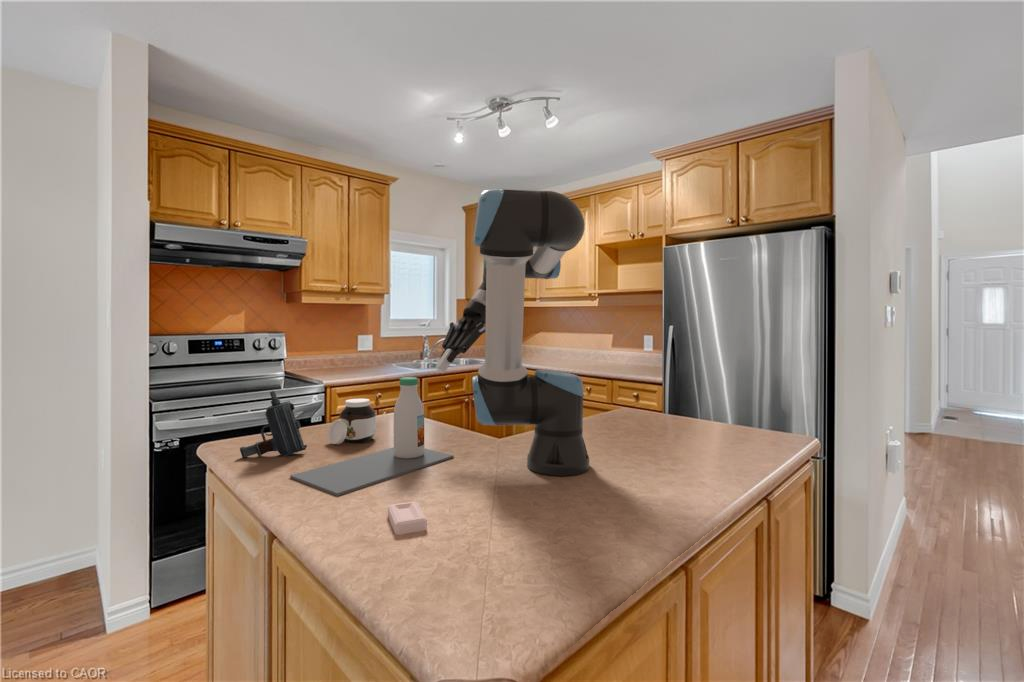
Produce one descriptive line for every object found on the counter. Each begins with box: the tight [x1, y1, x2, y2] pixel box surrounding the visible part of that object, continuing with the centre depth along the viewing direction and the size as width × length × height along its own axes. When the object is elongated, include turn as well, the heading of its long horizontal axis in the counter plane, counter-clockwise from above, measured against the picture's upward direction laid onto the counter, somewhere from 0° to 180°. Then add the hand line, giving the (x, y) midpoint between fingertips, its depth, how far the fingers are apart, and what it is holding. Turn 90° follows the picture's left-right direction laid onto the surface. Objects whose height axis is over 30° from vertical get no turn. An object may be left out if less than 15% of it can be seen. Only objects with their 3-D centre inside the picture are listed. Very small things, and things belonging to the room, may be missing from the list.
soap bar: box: [387, 500, 428, 536], centre depth 89 cm, size 5×9×2 cm, turn 23°
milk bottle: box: [393, 376, 425, 459], centre depth 128 cm, size 8×8×20 cm
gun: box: [239, 390, 308, 459], centre depth 128 cm, size 3×17×15 cm
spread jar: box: [327, 398, 378, 445], centre depth 144 cm, size 12×11×12 cm
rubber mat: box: [289, 446, 455, 497], centre depth 120 cm, size 34×18×1 cm, turn 143°
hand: (439, 369), depth 136 cm, fingers closed
